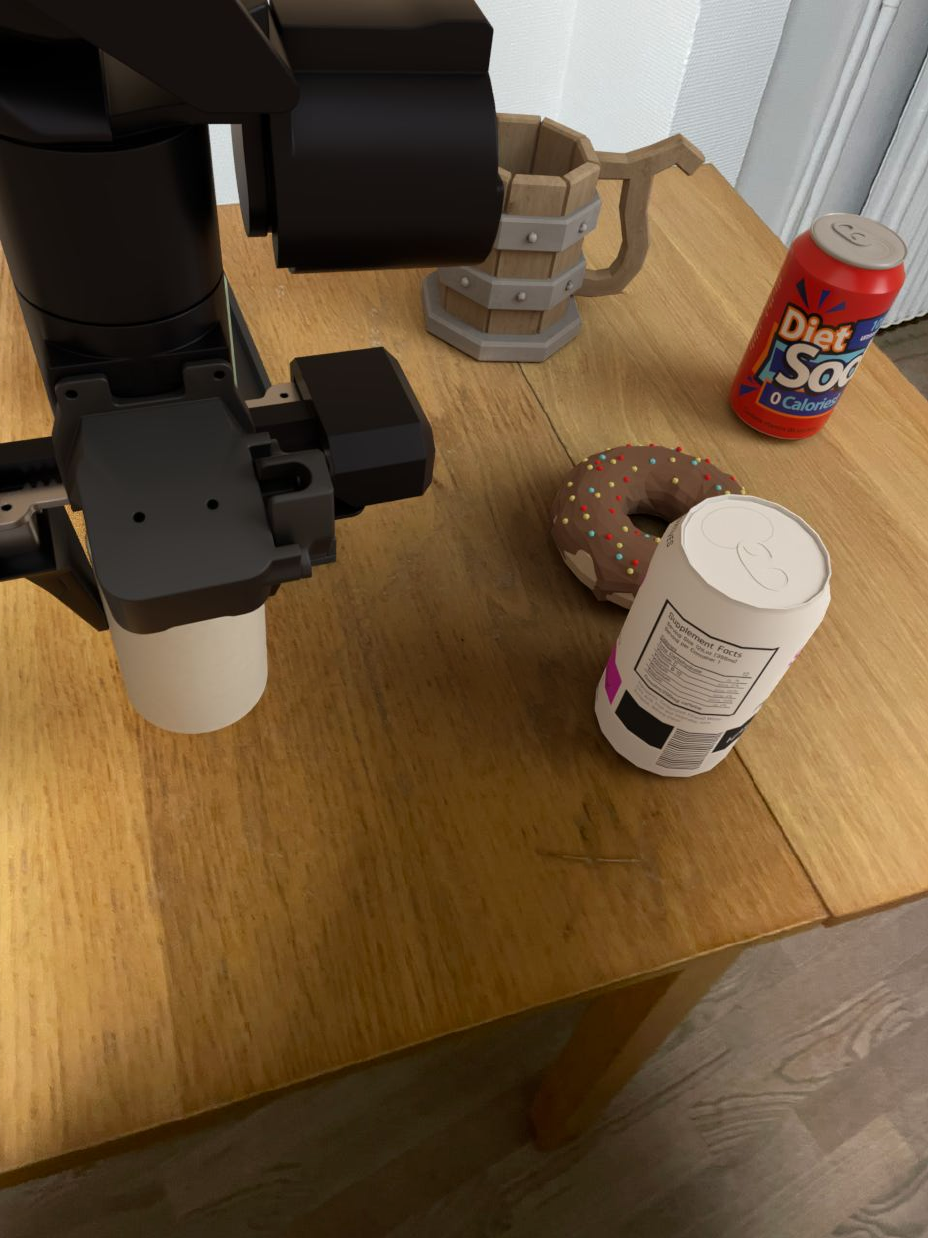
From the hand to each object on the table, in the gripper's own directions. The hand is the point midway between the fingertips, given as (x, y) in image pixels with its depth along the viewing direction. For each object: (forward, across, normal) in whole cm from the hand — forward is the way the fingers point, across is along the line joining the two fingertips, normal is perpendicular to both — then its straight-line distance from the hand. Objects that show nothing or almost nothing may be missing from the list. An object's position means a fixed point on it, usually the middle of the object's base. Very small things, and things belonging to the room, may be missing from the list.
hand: (186, 605), depth 38 cm
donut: (+13, +30, +7) cm, 34 cm away
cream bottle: (+5, 0, 0) cm, 5 cm away
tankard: (+13, +34, +33) cm, 49 cm away
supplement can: (+13, +25, -5) cm, 28 cm away
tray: (+13, +4, +27) cm, 30 cm away
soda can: (+13, +47, +18) cm, 52 cm away
